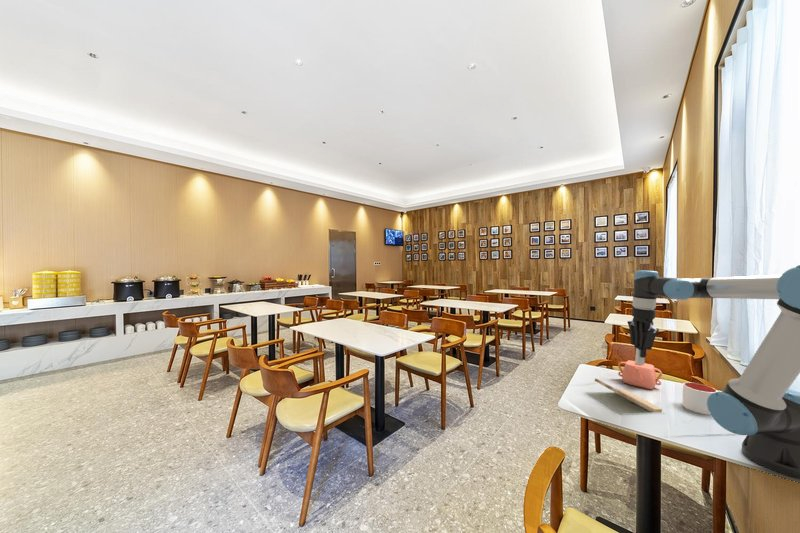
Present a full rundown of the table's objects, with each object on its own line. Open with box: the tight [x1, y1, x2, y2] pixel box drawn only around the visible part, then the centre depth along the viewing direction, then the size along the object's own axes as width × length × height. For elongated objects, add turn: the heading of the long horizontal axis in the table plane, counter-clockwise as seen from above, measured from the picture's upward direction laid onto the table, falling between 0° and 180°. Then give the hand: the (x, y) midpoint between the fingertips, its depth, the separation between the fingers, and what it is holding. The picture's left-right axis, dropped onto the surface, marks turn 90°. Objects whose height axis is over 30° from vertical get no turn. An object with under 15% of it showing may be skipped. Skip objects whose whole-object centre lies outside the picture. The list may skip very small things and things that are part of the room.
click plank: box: [594, 378, 653, 412], centre depth 130 cm, size 18×12×1 cm, turn 5°
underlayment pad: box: [585, 389, 666, 416], centre depth 130 cm, size 20×19×2 cm
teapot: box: [617, 359, 663, 390], centre depth 149 cm, size 15×17×13 cm
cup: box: [681, 381, 718, 416], centre depth 125 cm, size 10×10×10 cm
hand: (639, 364), depth 126 cm, fingers closed
